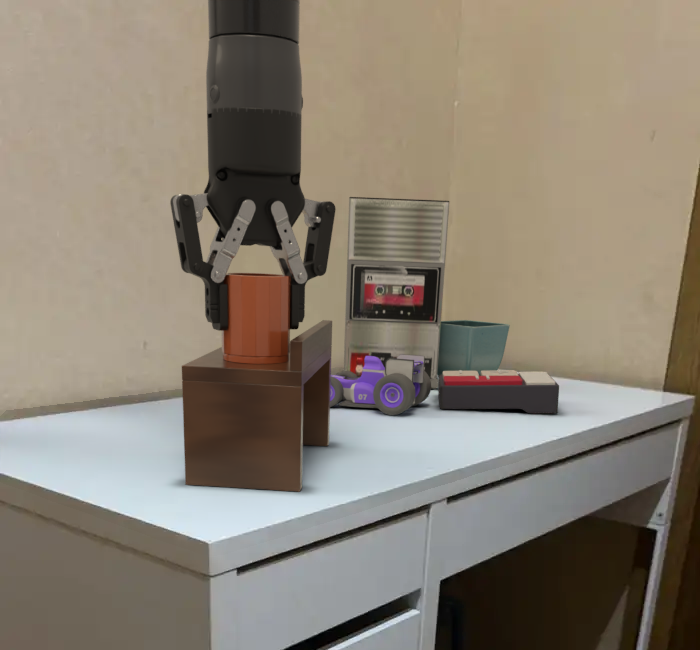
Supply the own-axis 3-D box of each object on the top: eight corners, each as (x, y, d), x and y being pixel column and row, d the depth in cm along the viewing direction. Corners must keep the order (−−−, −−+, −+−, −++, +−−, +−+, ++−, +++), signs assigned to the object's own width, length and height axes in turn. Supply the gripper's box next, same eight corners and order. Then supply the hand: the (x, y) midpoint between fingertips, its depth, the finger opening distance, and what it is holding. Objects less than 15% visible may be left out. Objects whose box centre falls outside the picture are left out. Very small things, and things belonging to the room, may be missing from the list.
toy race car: (324, 395, 127) (325, 345, 124) (430, 405, 122) (433, 354, 120) (296, 405, 119) (296, 352, 116) (409, 417, 114) (412, 362, 112)
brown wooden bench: (185, 484, 81) (180, 335, 76) (235, 438, 99) (234, 315, 94) (300, 491, 80) (302, 341, 75) (329, 443, 98) (332, 320, 93)
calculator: (438, 368, 129) (549, 367, 128) (438, 400, 130) (547, 399, 129) (440, 380, 119) (560, 379, 118) (439, 414, 120) (558, 413, 119)
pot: (215, 362, 79) (213, 274, 77) (230, 354, 85) (229, 271, 82) (282, 365, 79) (283, 277, 76) (293, 357, 84) (294, 274, 82)
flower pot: (422, 383, 141) (426, 320, 137) (461, 379, 146) (466, 319, 143) (466, 391, 135) (471, 326, 131) (505, 386, 140) (511, 324, 137)
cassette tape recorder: (342, 386, 135) (348, 196, 125) (342, 380, 141) (348, 198, 131) (437, 390, 135) (451, 200, 126) (433, 383, 141) (446, 202, 131)
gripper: (317, 120, 80) (313, 324, 87) (153, 105, 74) (162, 325, 81) (356, 112, 74) (349, 333, 81) (180, 95, 68) (187, 335, 75)
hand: (255, 328), depth 81 cm, fingers closed on pot, 6 cm apart
